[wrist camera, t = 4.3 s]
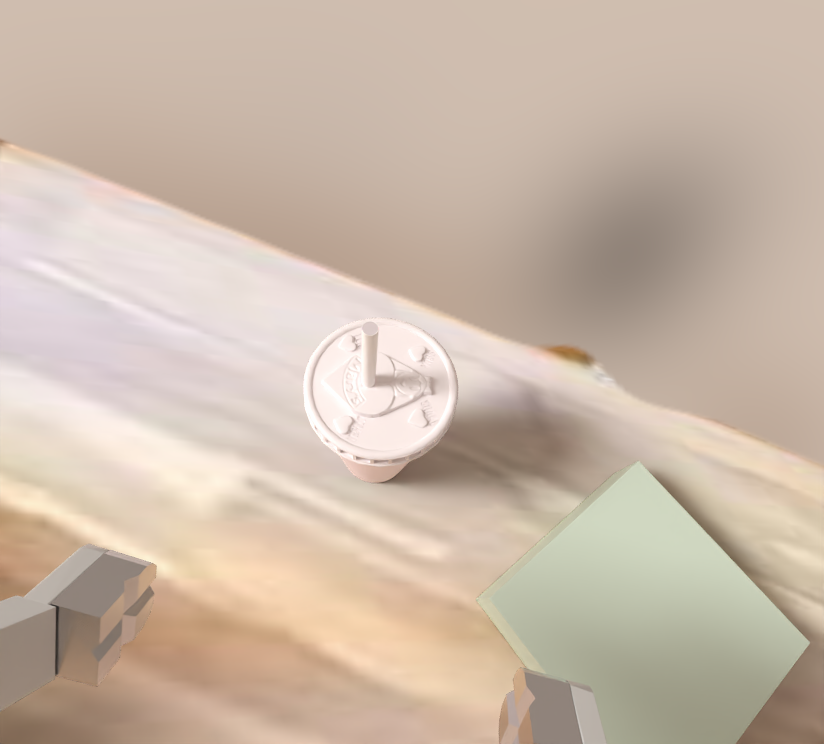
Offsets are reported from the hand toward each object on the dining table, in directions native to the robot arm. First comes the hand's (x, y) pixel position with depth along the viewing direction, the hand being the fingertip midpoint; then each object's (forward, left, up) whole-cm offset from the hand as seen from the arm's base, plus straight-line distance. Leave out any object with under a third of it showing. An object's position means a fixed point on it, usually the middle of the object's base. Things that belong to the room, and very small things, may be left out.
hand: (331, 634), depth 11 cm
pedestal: (-9, -11, -16) cm, 21 cm away
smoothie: (+6, -6, -16) cm, 18 cm away
